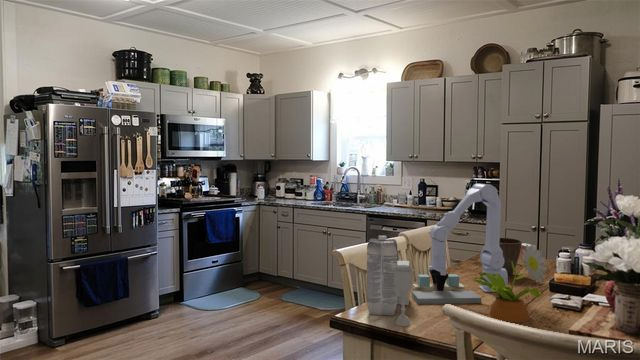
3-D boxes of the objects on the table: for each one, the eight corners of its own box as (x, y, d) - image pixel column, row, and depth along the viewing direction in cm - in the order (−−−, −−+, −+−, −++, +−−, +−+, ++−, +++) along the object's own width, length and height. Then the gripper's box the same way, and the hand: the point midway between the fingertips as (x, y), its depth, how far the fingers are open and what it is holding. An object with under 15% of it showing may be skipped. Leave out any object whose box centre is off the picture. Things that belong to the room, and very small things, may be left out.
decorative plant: (561, 325, 162) (563, 249, 161) (494, 331, 157) (495, 252, 156) (512, 302, 188) (513, 236, 187) (454, 306, 183) (454, 238, 182)
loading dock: (472, 295, 197) (472, 290, 197) (481, 303, 187) (481, 297, 187) (411, 296, 196) (412, 291, 196) (417, 303, 186) (417, 298, 186)
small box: (515, 264, 255) (516, 243, 255) (525, 263, 257) (525, 243, 256) (526, 267, 247) (527, 246, 247) (536, 266, 249) (536, 245, 249)
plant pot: (528, 275, 230) (528, 241, 230) (508, 279, 222) (508, 244, 221) (500, 269, 243) (500, 236, 242) (480, 273, 234) (480, 239, 234)
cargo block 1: (427, 284, 204) (427, 274, 204) (429, 286, 200) (429, 276, 200) (417, 284, 204) (417, 274, 203) (419, 286, 200) (420, 276, 199)
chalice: (390, 320, 168) (390, 267, 167) (410, 319, 168) (410, 266, 167) (395, 327, 160) (395, 272, 160) (416, 326, 161) (416, 271, 160)
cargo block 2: (456, 283, 204) (456, 274, 204) (459, 286, 200) (459, 276, 200) (446, 283, 204) (446, 274, 204) (449, 286, 200) (449, 276, 200)
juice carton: (396, 317, 171) (397, 238, 170) (366, 315, 173) (366, 238, 171) (397, 309, 180) (397, 234, 178) (368, 307, 181) (368, 234, 180)
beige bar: (460, 290, 205) (460, 283, 205) (464, 294, 200) (464, 286, 200) (412, 291, 204) (412, 283, 204) (415, 294, 199) (415, 287, 199)
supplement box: (409, 305, 184) (409, 265, 183) (384, 304, 186) (384, 264, 185) (409, 298, 193) (409, 260, 192) (386, 297, 195) (386, 259, 194)
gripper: (424, 252, 208) (424, 284, 209) (433, 259, 194) (433, 293, 195) (441, 252, 209) (440, 284, 209) (451, 259, 194) (451, 293, 195)
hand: (438, 288), depth 202 cm, fingers closed on beige bar, 5 cm apart
